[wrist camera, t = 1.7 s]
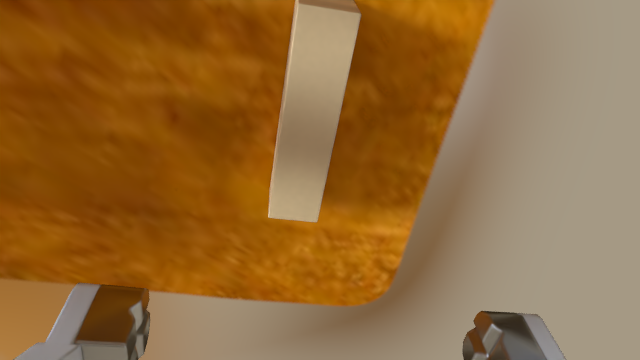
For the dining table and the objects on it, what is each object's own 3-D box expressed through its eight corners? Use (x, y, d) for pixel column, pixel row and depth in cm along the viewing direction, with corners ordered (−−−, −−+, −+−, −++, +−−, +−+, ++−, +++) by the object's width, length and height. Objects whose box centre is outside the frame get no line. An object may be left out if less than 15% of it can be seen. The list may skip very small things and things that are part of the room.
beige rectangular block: (296, -11, 19) (297, 3, 17) (353, -1, 19) (361, 13, 17) (269, 189, 24) (268, 218, 22) (314, 194, 25) (317, 223, 23)
